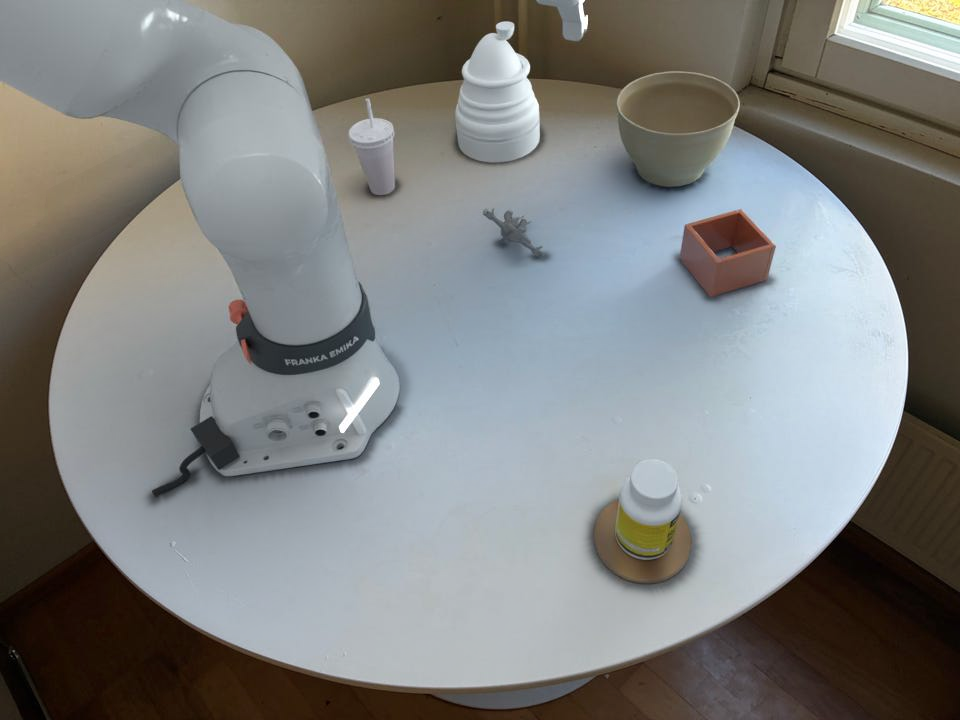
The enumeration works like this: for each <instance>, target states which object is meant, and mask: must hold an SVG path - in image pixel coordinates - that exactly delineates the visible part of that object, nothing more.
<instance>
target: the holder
mask: <svg viewBox="0 0 960 720" xmlns="http://www.w3.org/2000/svg"><path fill="white" fill-rule="evenodd" d="M683 226H684V227H683V234H682V240H681V246H680V253H679V260H680V261H681V263H682V264H683V265H684V267H685V268H686V269H687V270H688V271H689V272H690V274H691V275H692V276H693V278H694V279H695V280H696V282H697V283H698V284H699V285H700V286H701V288H702V289H703V291H705V292H706V294H707V295H708V297H709V298H712V297H714V296H715V297H716V296H719V295H723V294H725V293H729V292H732V291H737V290H738V289H742V288H746V287H749V286H752V285H756V284H760V283H762V282H766V281H768V278H769V274H770V270H771V267H772V263H773V259H774V255H775V252H776V248H777V245H776V244H775V243H774V242H773V241H772V240H771V238H769V237H768V236H767V234H765V232H764V231H763V230H762V229H761V228H760V227H759V226H758V224H756V223H755V222H754V221H753V220H752V219H751V218H750V216H748V214H746V212H745V211H743V209H741V208H740V209H737V210H732V211H728V212H725V213H721V214H718V215H714V216H710V217H707V218H704V219H700V220H696V221H693V222H689V223H686V224H684V225H683ZM729 248H733V250H735V252H736V253H734V254H731V255H727V256H723V257H721V258H719V257H718V256H717V255H716V254H715V252H718V251H723V250H727V249H729Z"/></svg>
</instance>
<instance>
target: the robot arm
mask: <svg viewBox="0 0 960 720" xmlns="http://www.w3.org/2000/svg"><path fill="white" fill-rule="evenodd" d="M535 1H536V3H538V4H539V5H543V6H550V7H556V8H557V11H558V13H559V16H560V18H561V21H562V37H563V38H564V39H565V40H566V41H573V42H580V41H581V40H582V39H583V37H584V36H585V34H586V33H587V32H588V21H589V20H588V19H589V18H588V14H585V13H584V12H585V11H584V6H583V3H584V2H585V1H586V0H535ZM0 82H1V83H4V84H5V85H7V86H9V87H11V88H13V89H15V90H17V91H19V92H21V93H23V94H24V95H27V96H28V97H30V98H32V99H34V100H36V101H37V102H39V103H42V104H44V105H45V106H47V107H49V108H51V109H53V110H55V111H57V112H59V113H61V114H62V115H65V116H67V117H70V118H74V119H79V120H89V119H95V118H101V117H104V118H111V119H117V120H121V121H125V122H128V123H132V124H135V125H138V126H142V127H145V128H148V129H150V130H153V131H156V132H158V133H160V134H162V135H163V136H166V137H167V138H168V139H170V140H171V141H172V142H173V143H174V144H175V145H177V148H178V162H179V177H180V183H181V187H182V189H183V193H184V196H185V198H186V201H187V204H188V206H189V208H190V211H191V212H192V215H193V217H194V220H195V222H196V224H197V225H198V228H199V229H200V231H201V233H202V234H203V236H204V237H205V238H206V240H207V241H208V242H209V243H210V244H211V245H212V246H214V248H216V249H217V251H218V252H219V254H220V255H221V256H222V258H223V259H224V261H225V262H226V264H227V265H228V267H229V269H230V272H231V273H232V276H233V278H234V281H235V283H236V285H237V287H238V289H239V292H240V294H241V297H242V299H234V300H232V301H231V302H230V303H229V305H228V312H229V314H230V315H229V320H230V322H231V323H233V324H235V325H236V327H235V334H236V338H237V341H236V342H235V343H234V344H232V345H231V347H229V348H228V349H227V350H226V351H224V353H222V354H221V355H220V356H218V358H217V359H216V361H215V362H214V364H213V367H212V371H211V374H210V383H209V385H208V387H207V388H206V390H205V392H204V395H203V397H202V400H201V404H200V410H199V423H198V424H196V425H193V426H192V427H191V428H190V431H191V433H192V434H193V436H194V437H195V439H196V441H197V443H198V444H199V446H200V447H198V448H197V449H196V450H195V451H193V452H191V453H190V454H189V455H188V456H187V457H185V458H184V459H183V461H182V462H181V463H180V465H179V469H178V470H179V473H180V474H181V475H180V476H179V477H178V478H176V479H174V480H172V481H170V482H167V483H166V484H163V485H161V486H158V487H156V488H153V489H152V490H151V493H152V494H153V496H154V497H157V496H158V495H161V494H163V493H166V492H168V491H171V490H173V489H176V488H177V487H179V486H181V485H183V484H184V483H185V482H186V481H187V480H188V479H189V478H190V476H191V471H190V469H189V468H188V467H189V466H190V464H191V463H193V462H194V461H195V460H197V459H198V458H200V457H201V456H202V455H203V454H206V457H207V459H208V461H209V463H210V464H211V466H212V467H213V468H214V469H215V470H216V471H217V472H218V473H219V474H220V475H222V476H223V477H235V476H242V475H250V474H257V473H263V472H270V471H277V470H283V469H291V468H297V467H304V466H305V467H306V466H311V465H318V464H324V463H325V464H326V463H331V462H338V461H339V462H340V461H344V460H345V461H346V460H351V459H356V458H357V457H360V455H362V453H363V452H365V451H364V450H365V449H366V447H367V445H368V443H369V441H370V438H371V436H372V435H373V433H374V432H375V431H376V429H378V427H380V426H381V425H382V424H383V423H384V422H385V421H386V420H387V419H388V417H389V416H390V415H391V413H392V412H393V410H394V409H395V407H396V405H397V402H398V399H399V395H400V387H401V385H400V378H399V375H398V372H397V370H396V368H395V367H394V365H393V364H392V363H391V362H390V360H389V359H388V358H387V356H386V355H385V353H384V351H383V350H382V347H381V345H380V344H379V341H378V339H377V337H376V324H375V323H376V322H375V318H374V314H373V311H372V307H371V303H370V300H369V297H368V295H367V292H366V291H365V289H364V286H363V285H362V283H361V282H360V281H359V280H358V274H357V272H356V267H355V263H354V259H353V256H352V253H351V247H350V246H349V245H350V244H349V241H348V237H347V234H346V230H345V225H344V221H343V217H342V212H341V208H340V204H339V200H338V196H337V193H336V192H337V191H336V188H335V184H334V180H333V174H332V171H331V168H330V164H329V160H328V156H327V153H326V150H325V149H326V148H325V146H324V142H323V139H322V137H321V136H322V135H321V133H320V132H321V131H320V129H319V126H318V123H317V119H316V116H315V114H314V112H313V109H312V105H311V102H310V98H309V96H308V93H307V89H306V85H305V82H304V80H303V77H302V75H301V73H300V70H299V69H298V68H297V66H296V65H295V63H294V62H293V60H292V59H291V58H290V57H289V56H288V54H287V53H286V52H285V51H284V50H283V49H282V47H281V46H280V45H279V44H278V43H277V42H276V41H275V40H274V39H273V38H271V36H269V35H268V34H266V33H265V32H263V31H261V30H259V29H257V28H256V27H252V26H249V25H247V24H246V25H245V24H241V23H231V22H229V21H227V20H225V19H223V18H221V17H220V16H218V15H215V14H213V13H211V12H209V11H207V10H205V9H203V8H201V7H198V6H196V5H194V4H192V3H190V2H187V1H185V0H0Z"/></svg>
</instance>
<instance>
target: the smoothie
mask: <svg viewBox="0 0 960 720" xmlns="http://www.w3.org/2000/svg"><path fill="white" fill-rule="evenodd" d="M365 106H366V110H367V115H368V118H366V119H362V120H360V121H358V122H356V123H354V124H353V125H352V126H351V127H350V128H349V130H348V138H349V139H348V140H349V143H350V144H351V145H352V146H353V147H354V151H355V153H356V155H357V158H358V161H359V163H360V166H361V168H362V171H363V174H364V176H365V180H366V182H367V185H368V187H369V190H370V192H371V193H372V194H373V195H375V196H385V195H388V194H391V193H392V192H393V191H394V190H395V189H396V177H395V176H396V175H395V160H394V159H395V157H394V154H395V153H394V137H395V130H394V124H393V123H392V122H391V121H389V120H387V119H384V118H380V117H379V118H378V117H374V114H373V110H372V105H371V100H370V98H369V97H368V98H365Z"/></svg>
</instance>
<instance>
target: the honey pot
mask: <svg viewBox="0 0 960 720" xmlns="http://www.w3.org/2000/svg"><path fill="white" fill-rule="evenodd" d="M495 29H496V32H490V33H488V34H486V35H484V36H483V37H482V38H481V39H480V40H479V42H478V43H477V44H476V45H475V48H474V50H473V52H472V54H471V56H470V58H469V59H467V60H466V62H465V63H464V64H463V66H462V68H461V75H462V78H463V82H462V84H461V86H460V87H459V95H458V100H457V104H456V105H455V110H454V116H455V126H456V127H455V129H456V138H457V145H458V148H459V149H460V151H461V152H462V153H463V154H464V155H465V156H467V157H468V158H470V159H473V160H476V161H479V162H483V163H484V162H485V163H505V162H511V161H515V160H517V159H521V158H523V157H525V156H527V155H529V154H530V153H532V152H533V151H534V150H535V149H536V148H537V146H539V145H538V144H540V138H541V137H540V136H541V130H540V129H541V128H540V124H541V122H540V105H539V102H538V99H537V98H536V95H535V93H534V90H533V86H532V83H531V80H530V79H528V75H529V74H530V71H531V64H530V61H529V60H528V59H527V58H526V57H525V56H524V55H522V54H520V53H517V52H516V51H515V50H514V48H513V47H512V46H511V44H510V43H509V41H507V40H509V39H511V38H512V36H513V35H514V32H515V23H514V22H512V21H501V22H498V23H497V24H495Z"/></svg>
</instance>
